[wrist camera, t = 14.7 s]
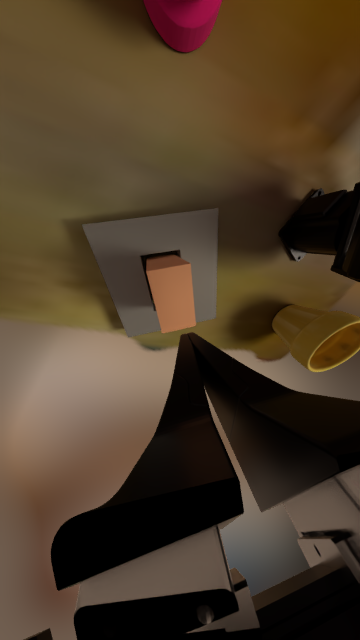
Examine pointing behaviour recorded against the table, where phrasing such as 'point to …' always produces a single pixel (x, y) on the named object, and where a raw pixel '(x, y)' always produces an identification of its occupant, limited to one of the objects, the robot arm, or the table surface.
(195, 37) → the pink bowling pin
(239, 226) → the table surface
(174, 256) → the keyed peg
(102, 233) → the socket block
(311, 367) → the plant pot
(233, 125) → the table surface
